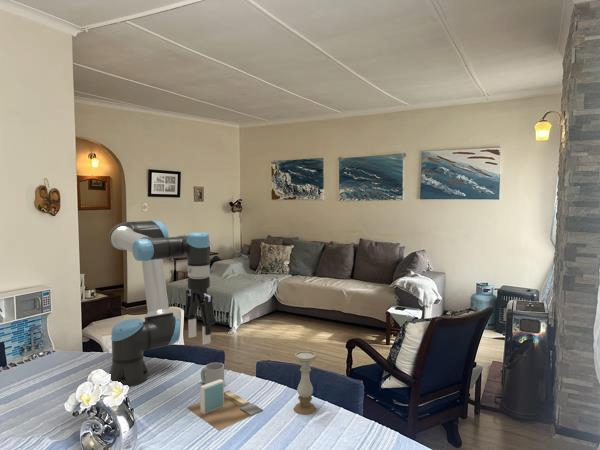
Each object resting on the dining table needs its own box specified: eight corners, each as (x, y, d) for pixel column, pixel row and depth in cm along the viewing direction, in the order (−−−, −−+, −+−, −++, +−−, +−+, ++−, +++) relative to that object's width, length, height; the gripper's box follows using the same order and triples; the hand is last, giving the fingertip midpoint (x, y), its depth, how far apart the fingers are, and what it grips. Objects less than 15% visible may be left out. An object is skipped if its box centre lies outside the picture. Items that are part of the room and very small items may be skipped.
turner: (220, 397, 154) (220, 393, 154) (231, 393, 158) (231, 389, 158) (250, 416, 142) (250, 411, 141) (262, 411, 145) (262, 406, 145)
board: (186, 410, 147) (186, 407, 147) (229, 394, 160) (229, 391, 160) (218, 434, 133) (218, 430, 133) (263, 413, 145) (263, 410, 145)
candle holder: (320, 408, 149) (321, 351, 148) (313, 420, 141) (313, 361, 140) (297, 404, 152) (297, 348, 151) (288, 416, 144) (288, 357, 143)
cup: (217, 394, 159) (217, 371, 159) (195, 389, 164) (195, 366, 163) (228, 386, 166) (227, 364, 165) (206, 382, 170) (206, 360, 169)
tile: (200, 411, 144) (200, 386, 144) (220, 403, 150) (220, 379, 149) (204, 414, 143) (203, 388, 142) (224, 406, 148) (224, 381, 148)
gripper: (173, 273, 154) (174, 335, 156) (205, 283, 139) (206, 350, 140) (192, 271, 159) (193, 330, 161) (225, 279, 144) (225, 345, 145)
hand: (199, 340), depth 150 cm, fingers open, 9 cm apart
